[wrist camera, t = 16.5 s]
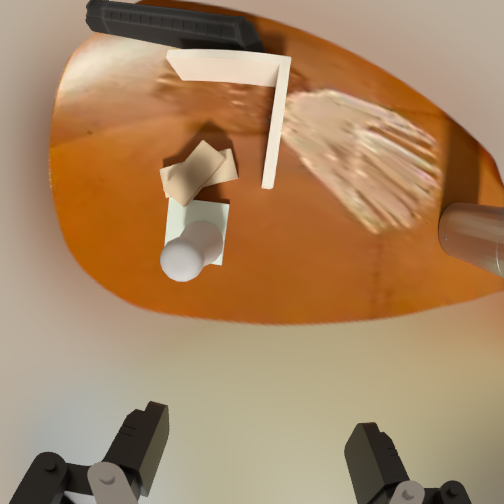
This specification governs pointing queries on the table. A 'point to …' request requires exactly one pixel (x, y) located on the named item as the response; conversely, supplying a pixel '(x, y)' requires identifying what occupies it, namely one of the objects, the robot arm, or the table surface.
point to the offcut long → (221, 175)
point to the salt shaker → (191, 251)
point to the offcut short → (194, 173)
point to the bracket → (241, 71)
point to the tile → (196, 218)
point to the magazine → (173, 26)
